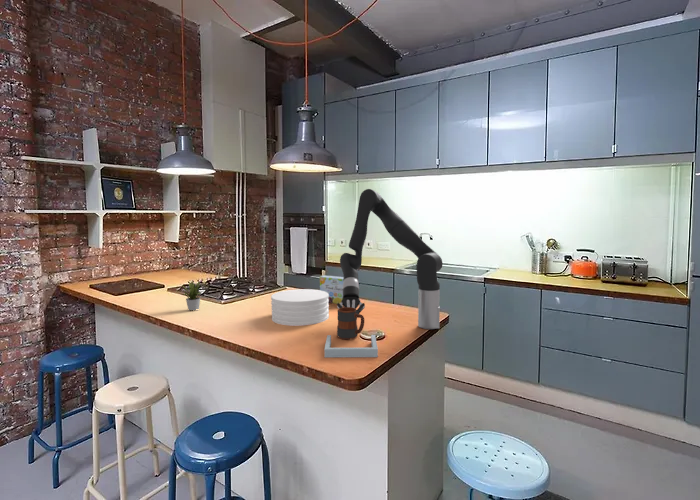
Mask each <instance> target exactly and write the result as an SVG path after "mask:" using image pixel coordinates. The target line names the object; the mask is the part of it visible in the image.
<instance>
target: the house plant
mask: <svg viewBox="0 0 700 500" xmlns="http://www.w3.org/2000/svg"><path fill="white" fill-rule="evenodd" d="M204 283H206V281H203V282H202V283H201V280H200V281H199V282H197V283H195V282H194V281H193V280H191V281H190V280H189V282H188V287H189V290H188V288H186V287H185V286H184V285H182V284H179V285H180V286H182V287H183V288H184V289H185V290H183V292H184V293H182V295H183V296H185V297H187V298H186V300H185V301H186V306H187V310H188V309H189V310H196V309H199V310H200V304H201V297H200V295H201V293H202V292H203V293H205V289H204V290H200V289H201V288H202V287H203V286H205V284H204ZM189 310H188V311H189Z"/></svg>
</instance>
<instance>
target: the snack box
mask: <svg viewBox="0 0 700 500" xmlns="http://www.w3.org/2000/svg"><path fill="white" fill-rule="evenodd" d="M319 290H321V291H325V292H327V293H328V294H329V297H328V299H329V302H328V304H334V305H337V304H338V303H341V302H342V299H343V276H336V275H325V274H324V275H321V276H319Z"/></svg>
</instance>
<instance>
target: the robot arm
mask: <svg viewBox="0 0 700 500" xmlns="http://www.w3.org/2000/svg"><path fill="white" fill-rule="evenodd" d="M359 195H360V196H359V200H358V206H357V213H356V218H355V222H354V227H353V230H352V233H351V237H350V240H349V243H348V248H349V249H350V250H353V251H354V254H352V253H349V252H344V253H342V254H341V255H340V257H339V266H340V268H341V271H342V274H343V276H342V277H343V299H342V302H341V303H338V304H336V306H337V310H338V309H339V308H343V307H352V308H355V309H356V310H357V314H360V313H362V311H363V310H364V309H365V307H366V304H365V302H361V299H360V285H359V272H358V270H359V269H361V268H360V267H362V259H363V250H364V249H363V248H364V245H365V242H366V239H367V236H368V235H367V234H368V223H369V217H370V214H371V212H372V213H373V214H375V216H376V217H378V218H379V220H380V221H381V223H382V225H383V227H384V228H385V230H386V231H387V233H388V234H389V235H390V237H392V238H393V239H394V241H396V242H397V243H398V244H399V245H400V246H402V247H404V248H405V249H407V250H409V251H410V252H411V253H413V254H414V255H415V256H416V258H418V259H417V261H416V281H417V282H416V283H417V285H418V296H417V297H418V298H417V299H418V301H417V303H418V305H417V306H418V308H417V309H418V310H417V311H418V312H417V313H418V314H417V317H418V318H417V325H418V327H419V328H421V329H426V330H435V329H440V316H441V315H440V314H441V313H440V312H441V311H440V310H441V308H440V291H441V290H440V285H441V284H440V282H439V281H438V278H437V277H438V276H437V272H439V271H440V270H442V267H443V259H442V257H441V256H440V255H439V254H438V253H437V252H436V251H435V250H434V249H432V248H431V247H430V246H429V245H428V244H427V243H426V242H424V240H423V239H422V238H421V237H420V236H419V235H418V234H417V233H416V231H414V230H413V228H412V227H411V226H410V225H409V224H408V222H406V221H405V220H404V219H403V218H402V217H401V216H400V215H399V214H398V213H397V212H395V211H394V210H393V209H392V208H391V207H390V206H389V204H388V203H387V202H386V200H385V199H384V197H382V195H381V194H380V193H379V192H377V191H376V190H374V189H371V188H366V189H364V190H363V191H362V192H361V193H360V194H359Z"/></svg>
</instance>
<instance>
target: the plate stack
mask: <svg viewBox="0 0 700 500" xmlns="http://www.w3.org/2000/svg"><path fill="white" fill-rule="evenodd" d="M328 297H329V294H328V293H327V292H325V291H321V290H320V289H311V288H303V289H301V288H300V289H289V290H288V289H287V290H281V291H278V292H275V293H273V294H271V295H270V299H271V301H270V302H271V303H270V304H271V320H272V322H273V323H275V324H278V325H283V326H291V327H292V326H293V327H295V326H296V327H297V326H298V327H301V326H310V325H316V324H320V323H323V322H326V321H327V320H328V319H329V317H330V314H329V313H330V311H329V306H330V305H329V304H330V303H328V302H329V299H328Z"/></svg>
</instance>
